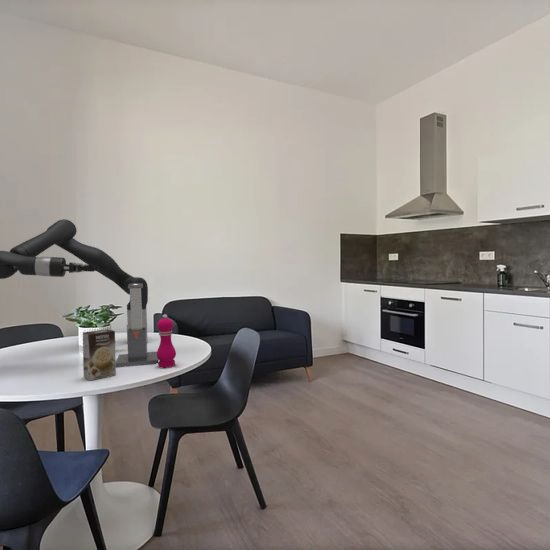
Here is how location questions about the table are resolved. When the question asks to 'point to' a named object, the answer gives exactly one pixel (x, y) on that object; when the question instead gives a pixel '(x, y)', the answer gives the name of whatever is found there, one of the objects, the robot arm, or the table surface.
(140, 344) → the stand
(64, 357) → the table surface
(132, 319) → the post
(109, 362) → the coffee box
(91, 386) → the table surface
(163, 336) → the pepper mill
